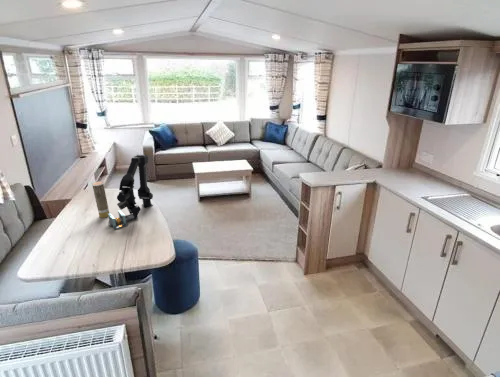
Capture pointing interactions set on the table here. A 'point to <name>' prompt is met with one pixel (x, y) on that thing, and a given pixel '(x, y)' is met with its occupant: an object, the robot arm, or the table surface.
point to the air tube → (119, 220)
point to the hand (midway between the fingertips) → (133, 216)
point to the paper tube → (101, 199)
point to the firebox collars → (114, 220)
